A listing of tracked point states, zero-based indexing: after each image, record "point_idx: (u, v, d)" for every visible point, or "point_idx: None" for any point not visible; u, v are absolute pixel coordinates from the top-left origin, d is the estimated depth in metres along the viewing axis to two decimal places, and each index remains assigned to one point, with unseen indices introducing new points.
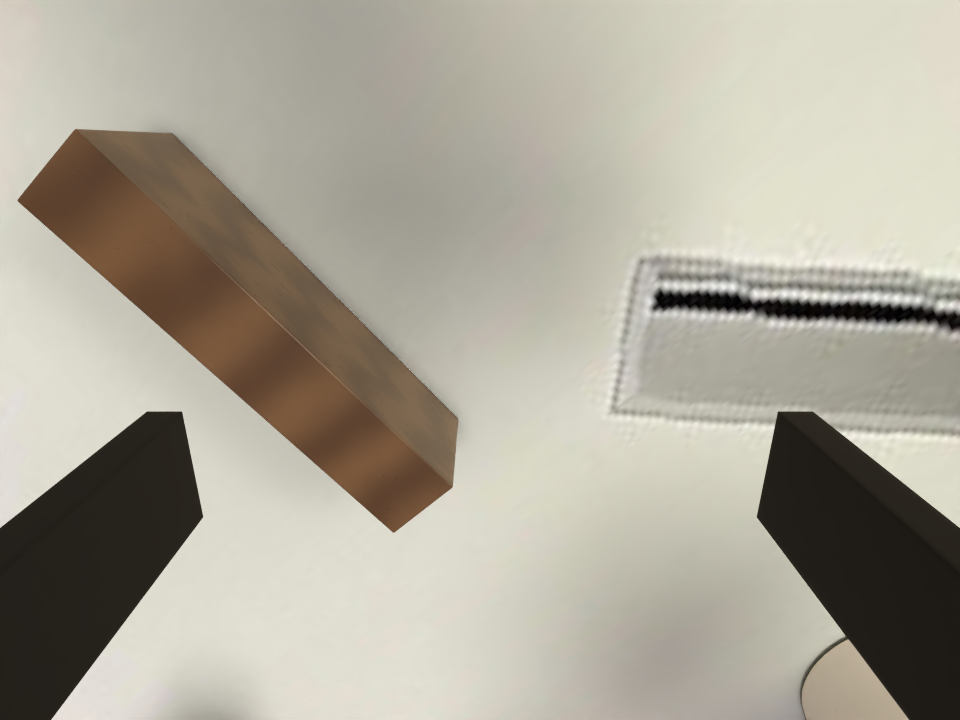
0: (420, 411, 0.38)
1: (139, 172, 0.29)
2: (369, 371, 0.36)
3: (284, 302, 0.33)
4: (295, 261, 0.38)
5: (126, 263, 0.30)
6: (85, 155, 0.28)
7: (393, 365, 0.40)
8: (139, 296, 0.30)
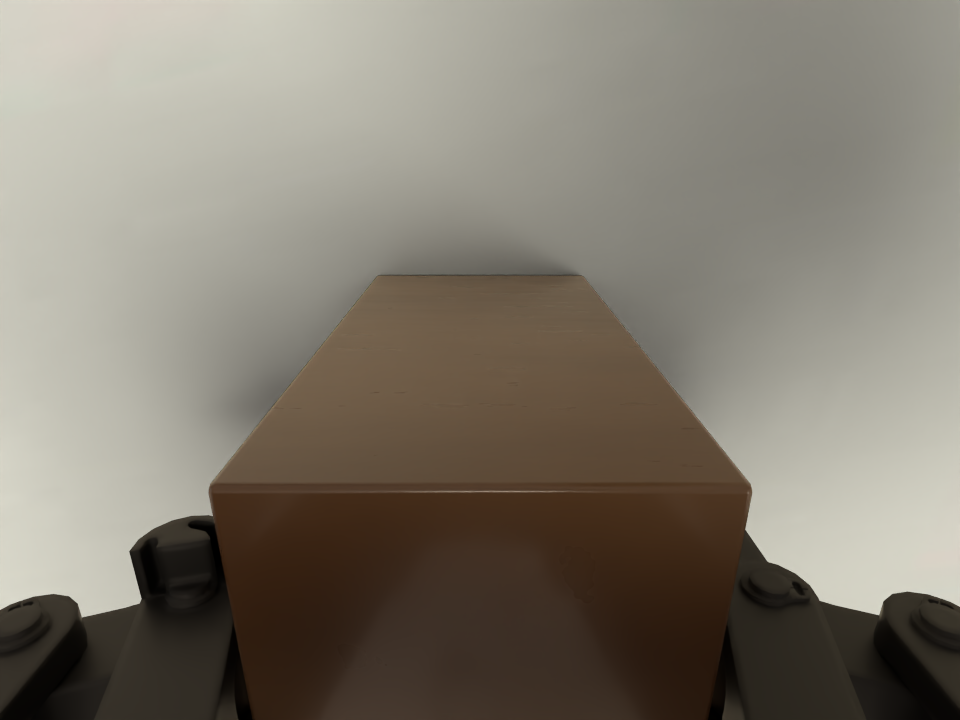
0: None
1: None
2: None
3: None
4: None
5: None
6: (671, 580, 0.06)
7: None
8: None
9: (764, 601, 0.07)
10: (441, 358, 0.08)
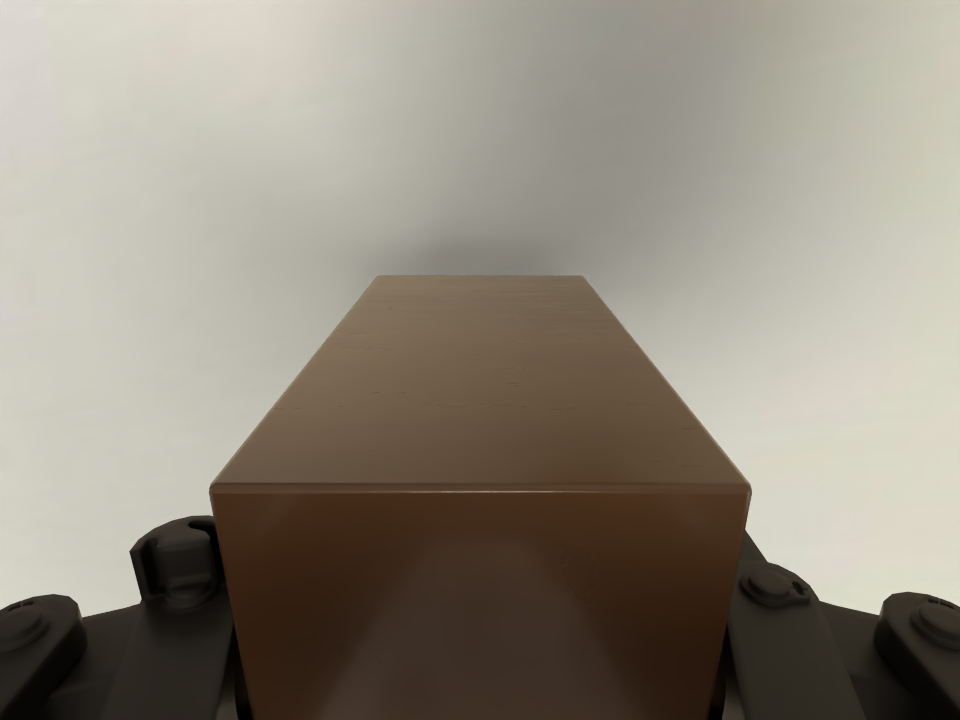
0: None
1: None
2: None
3: None
4: None
5: None
6: (672, 581, 0.06)
7: None
8: None
9: (764, 601, 0.07)
10: (441, 358, 0.08)
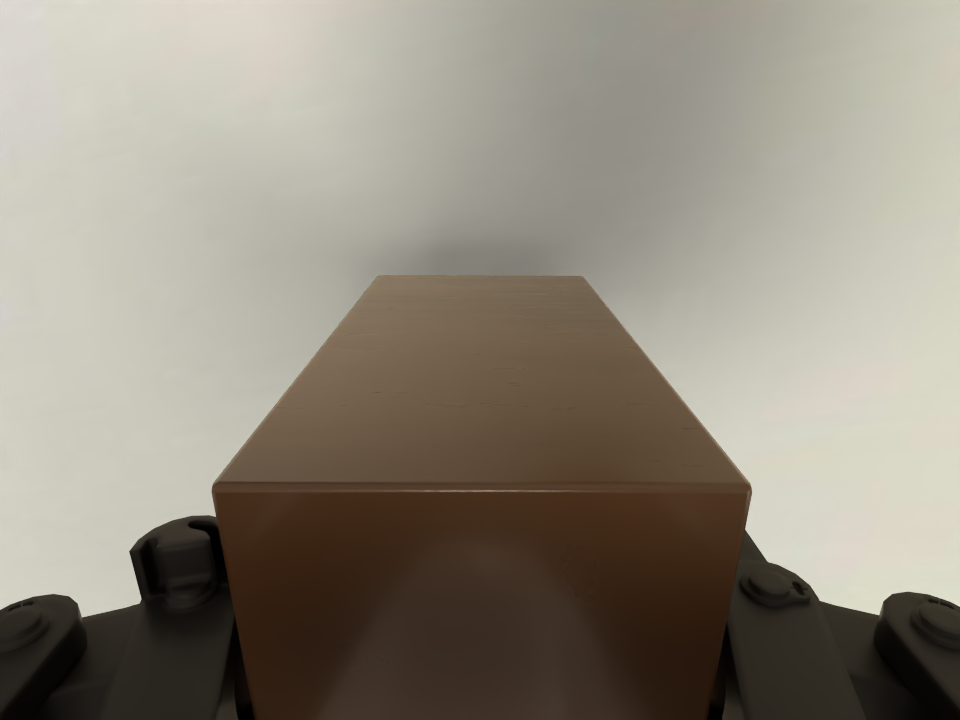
0: None
1: None
2: None
3: None
4: None
5: None
6: (672, 580, 0.06)
7: None
8: None
9: (764, 601, 0.07)
10: (441, 357, 0.08)
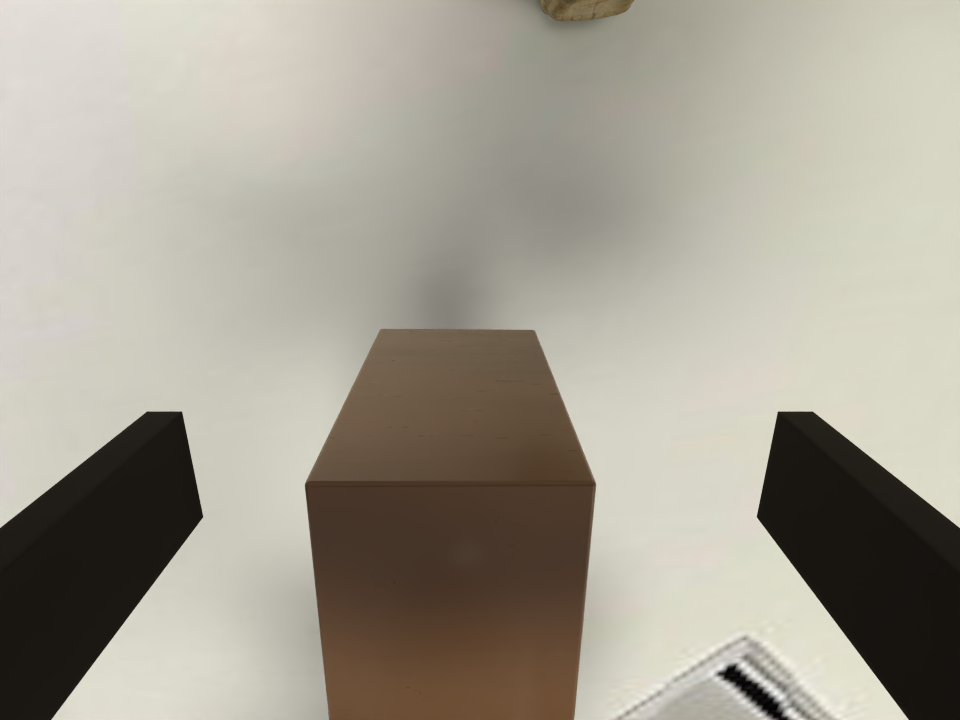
0: None
1: None
2: None
3: None
4: None
5: None
6: (556, 534, 0.10)
7: None
8: None
9: None
10: (429, 402, 0.13)
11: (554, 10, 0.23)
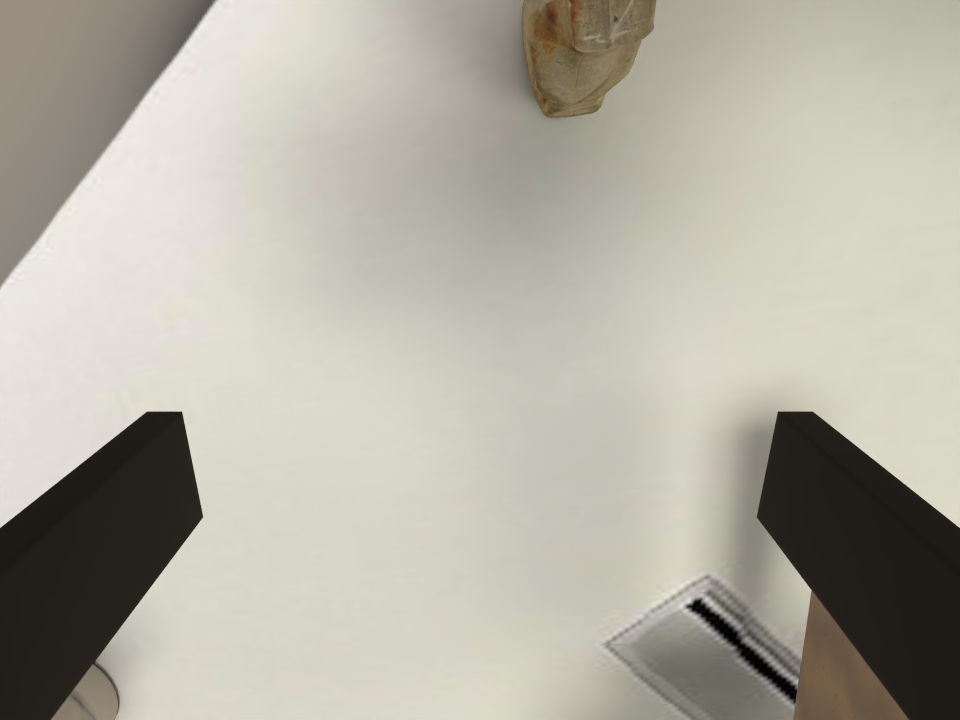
0: None
1: None
2: None
3: None
4: None
5: None
6: None
7: None
8: None
9: None
10: None
11: (546, 113, 0.33)
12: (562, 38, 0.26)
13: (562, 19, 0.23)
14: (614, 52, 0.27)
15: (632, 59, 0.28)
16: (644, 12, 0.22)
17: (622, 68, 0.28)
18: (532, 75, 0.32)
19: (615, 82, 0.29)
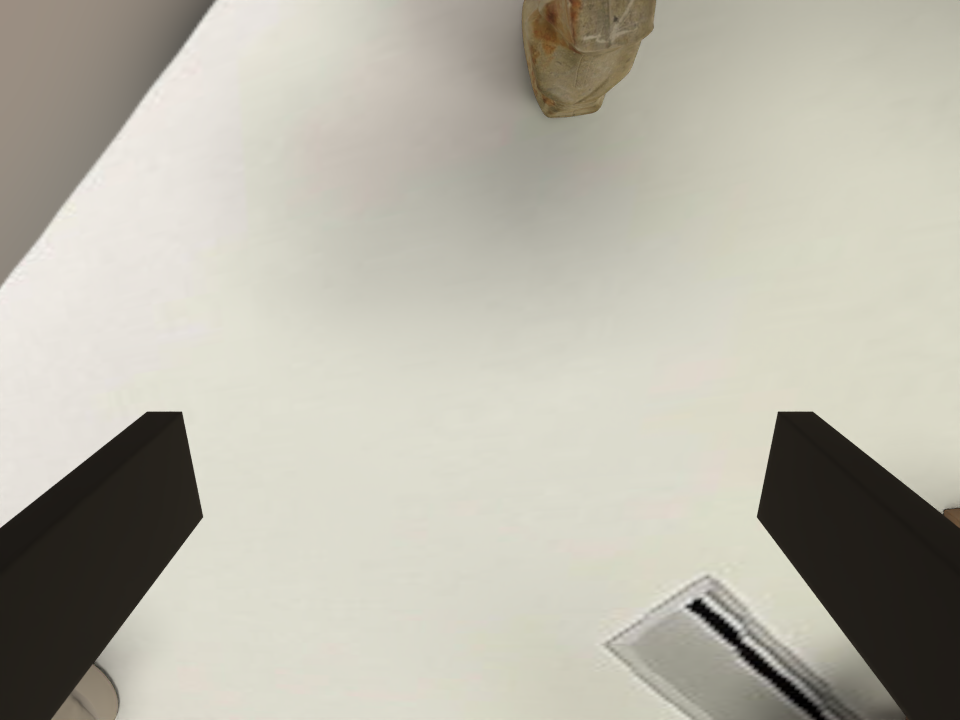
0: None
1: None
2: None
3: None
4: None
5: None
6: None
7: None
8: None
9: None
10: None
11: (546, 113, 0.33)
12: (562, 38, 0.26)
13: (562, 19, 0.23)
14: (614, 52, 0.27)
15: (632, 59, 0.28)
16: (644, 12, 0.22)
17: (622, 68, 0.28)
18: (532, 75, 0.32)
19: (615, 82, 0.29)
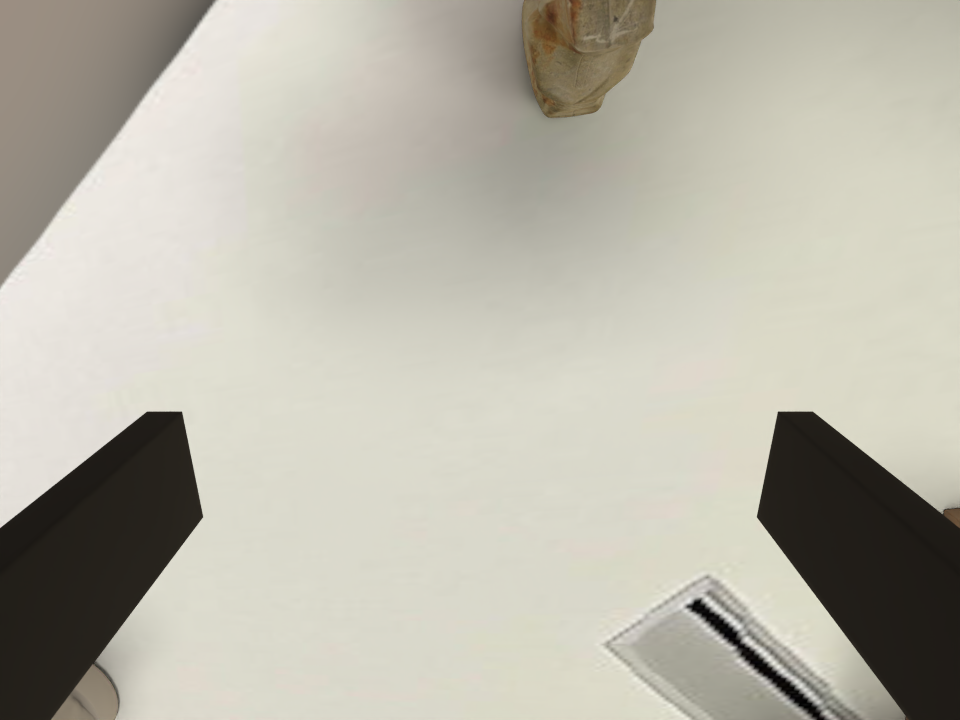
0: None
1: None
2: None
3: None
4: None
5: None
6: None
7: None
8: None
9: None
10: None
11: (546, 113, 0.33)
12: (562, 38, 0.26)
13: (562, 19, 0.23)
14: (614, 52, 0.27)
15: (632, 59, 0.28)
16: (644, 12, 0.22)
17: (622, 68, 0.28)
18: (532, 75, 0.32)
19: (615, 82, 0.29)
